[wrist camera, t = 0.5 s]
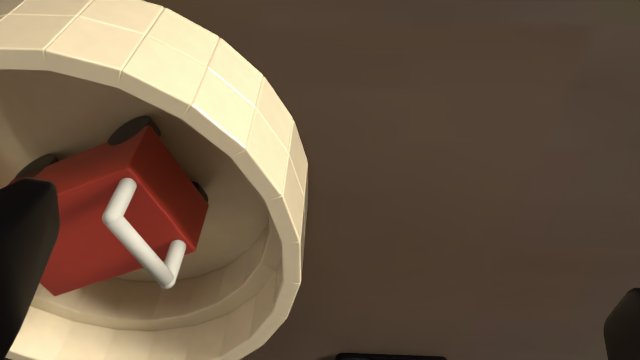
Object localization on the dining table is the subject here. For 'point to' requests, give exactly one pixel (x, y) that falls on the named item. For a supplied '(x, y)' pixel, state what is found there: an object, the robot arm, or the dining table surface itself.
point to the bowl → (190, 153)
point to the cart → (120, 210)
